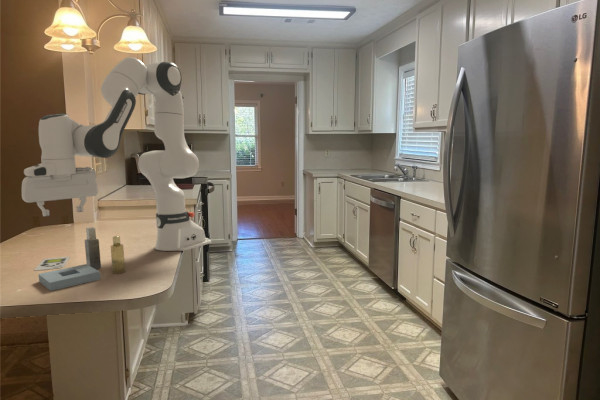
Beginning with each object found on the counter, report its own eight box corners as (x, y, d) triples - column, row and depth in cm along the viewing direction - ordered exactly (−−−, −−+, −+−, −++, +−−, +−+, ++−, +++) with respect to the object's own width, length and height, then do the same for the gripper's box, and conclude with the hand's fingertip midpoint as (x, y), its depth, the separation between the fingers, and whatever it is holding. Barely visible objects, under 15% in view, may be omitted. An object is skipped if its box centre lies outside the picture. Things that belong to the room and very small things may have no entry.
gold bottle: (122, 269, 142) (119, 234, 141) (127, 272, 140) (124, 236, 138) (110, 272, 140) (108, 236, 138) (115, 274, 137) (112, 238, 135)
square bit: (97, 266, 147) (94, 226, 145) (101, 268, 144) (97, 227, 142) (87, 268, 144) (83, 228, 142) (90, 270, 142) (87, 229, 140)
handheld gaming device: (33, 270, 142) (43, 258, 156) (33, 272, 142) (43, 260, 156) (63, 266, 145) (70, 255, 159) (63, 269, 145) (70, 257, 159)
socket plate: (86, 271, 141) (86, 264, 141) (100, 279, 133) (99, 271, 132) (39, 281, 131) (38, 273, 131) (50, 290, 123) (49, 282, 122)
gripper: (91, 166, 136) (95, 208, 138) (17, 170, 122) (22, 217, 124) (99, 166, 132) (102, 210, 134) (22, 171, 118) (28, 219, 120)
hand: (63, 213), depth 129 cm, fingers open, 8 cm apart
